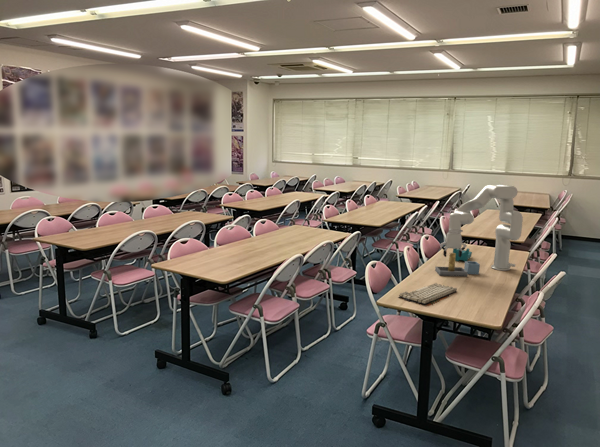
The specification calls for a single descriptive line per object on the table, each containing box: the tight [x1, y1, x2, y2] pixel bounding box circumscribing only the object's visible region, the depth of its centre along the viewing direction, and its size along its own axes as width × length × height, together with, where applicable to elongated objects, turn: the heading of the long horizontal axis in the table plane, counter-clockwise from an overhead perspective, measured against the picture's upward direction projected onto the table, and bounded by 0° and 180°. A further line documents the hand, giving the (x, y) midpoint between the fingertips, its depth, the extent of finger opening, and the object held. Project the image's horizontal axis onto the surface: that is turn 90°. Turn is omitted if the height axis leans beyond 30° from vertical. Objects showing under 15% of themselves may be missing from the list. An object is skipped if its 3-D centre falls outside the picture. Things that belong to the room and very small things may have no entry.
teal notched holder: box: [452, 247, 473, 262], centre depth 356 cm, size 18×11×10 cm, turn 149°
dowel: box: [447, 252, 456, 271], centre depth 314 cm, size 4×4×13 cm
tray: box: [434, 265, 468, 278], centre depth 315 cm, size 18×12×3 cm, turn 88°
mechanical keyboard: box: [397, 282, 458, 307], centre depth 270 cm, size 38×19×3 cm, turn 135°
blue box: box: [463, 260, 481, 275], centre depth 318 cm, size 8×8×7 cm
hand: (452, 256), depth 313 cm, fingers open, 9 cm apart
